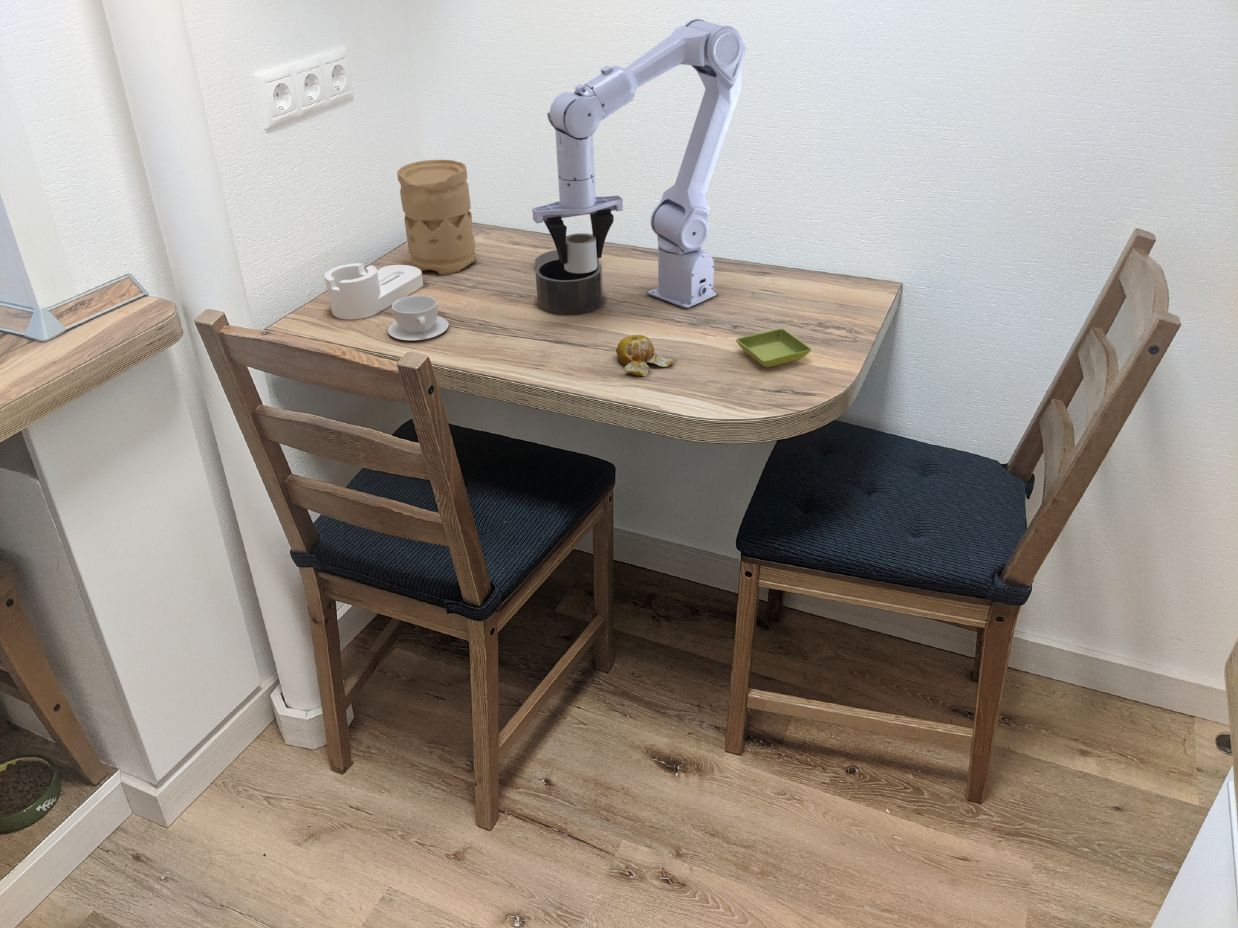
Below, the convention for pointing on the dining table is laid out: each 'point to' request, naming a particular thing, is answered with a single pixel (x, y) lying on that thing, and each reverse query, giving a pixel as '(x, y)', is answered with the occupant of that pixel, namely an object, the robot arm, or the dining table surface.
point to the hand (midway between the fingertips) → (580, 259)
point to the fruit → (639, 355)
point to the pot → (567, 289)
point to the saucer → (773, 347)
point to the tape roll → (581, 253)
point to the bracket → (369, 288)
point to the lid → (548, 257)
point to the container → (437, 215)
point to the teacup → (416, 318)
